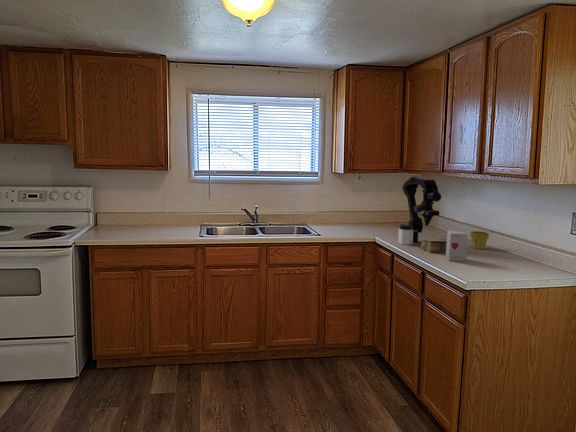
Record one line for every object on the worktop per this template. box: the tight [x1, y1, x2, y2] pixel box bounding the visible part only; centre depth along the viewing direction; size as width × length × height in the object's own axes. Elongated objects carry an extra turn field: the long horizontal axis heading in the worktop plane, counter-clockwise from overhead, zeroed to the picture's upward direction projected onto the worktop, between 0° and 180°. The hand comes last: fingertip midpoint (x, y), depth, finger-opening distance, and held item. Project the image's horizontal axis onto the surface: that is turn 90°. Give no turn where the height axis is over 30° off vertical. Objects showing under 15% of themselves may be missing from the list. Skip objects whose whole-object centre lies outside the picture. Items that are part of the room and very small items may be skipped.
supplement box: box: [445, 230, 468, 263], centre depth 261 cm, size 9×9×15 cm
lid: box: [420, 237, 447, 242], centre depth 285 cm, size 12×14×1 cm
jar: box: [397, 223, 414, 246], centre depth 306 cm, size 9×8×12 cm
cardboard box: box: [420, 239, 447, 254], centre depth 285 cm, size 12×14×6 cm
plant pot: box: [469, 230, 490, 250], centre depth 295 cm, size 10×10×10 cm
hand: (426, 225), depth 297 cm, fingers closed
